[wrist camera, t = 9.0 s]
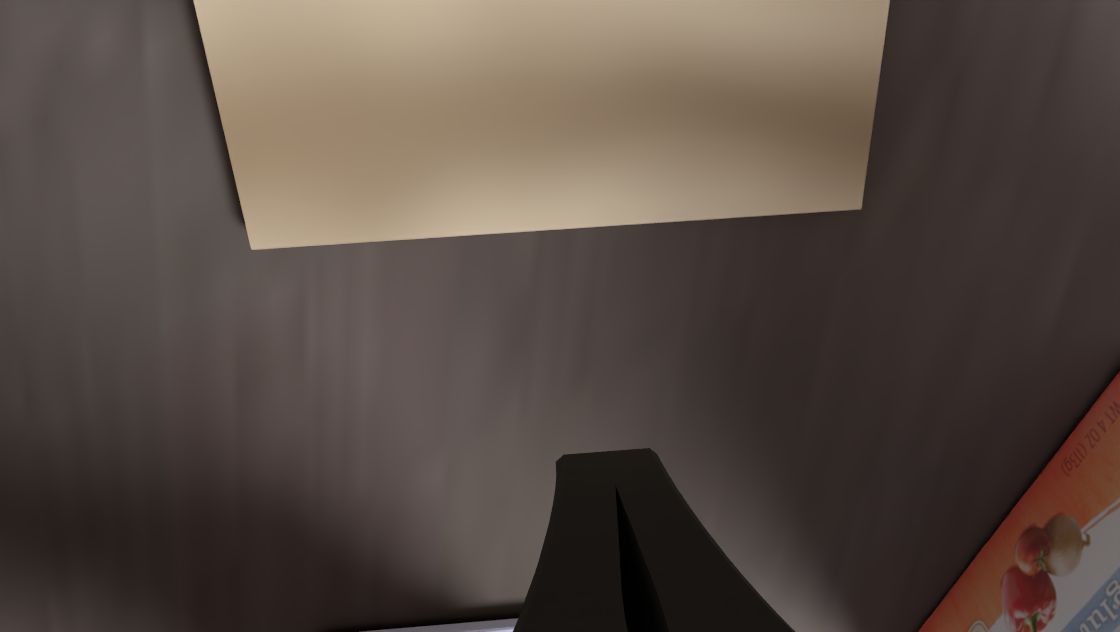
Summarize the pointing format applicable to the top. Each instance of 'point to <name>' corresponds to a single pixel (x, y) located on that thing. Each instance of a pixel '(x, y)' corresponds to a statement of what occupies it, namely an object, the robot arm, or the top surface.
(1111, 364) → the top surface
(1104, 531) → the cracker box
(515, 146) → the board
